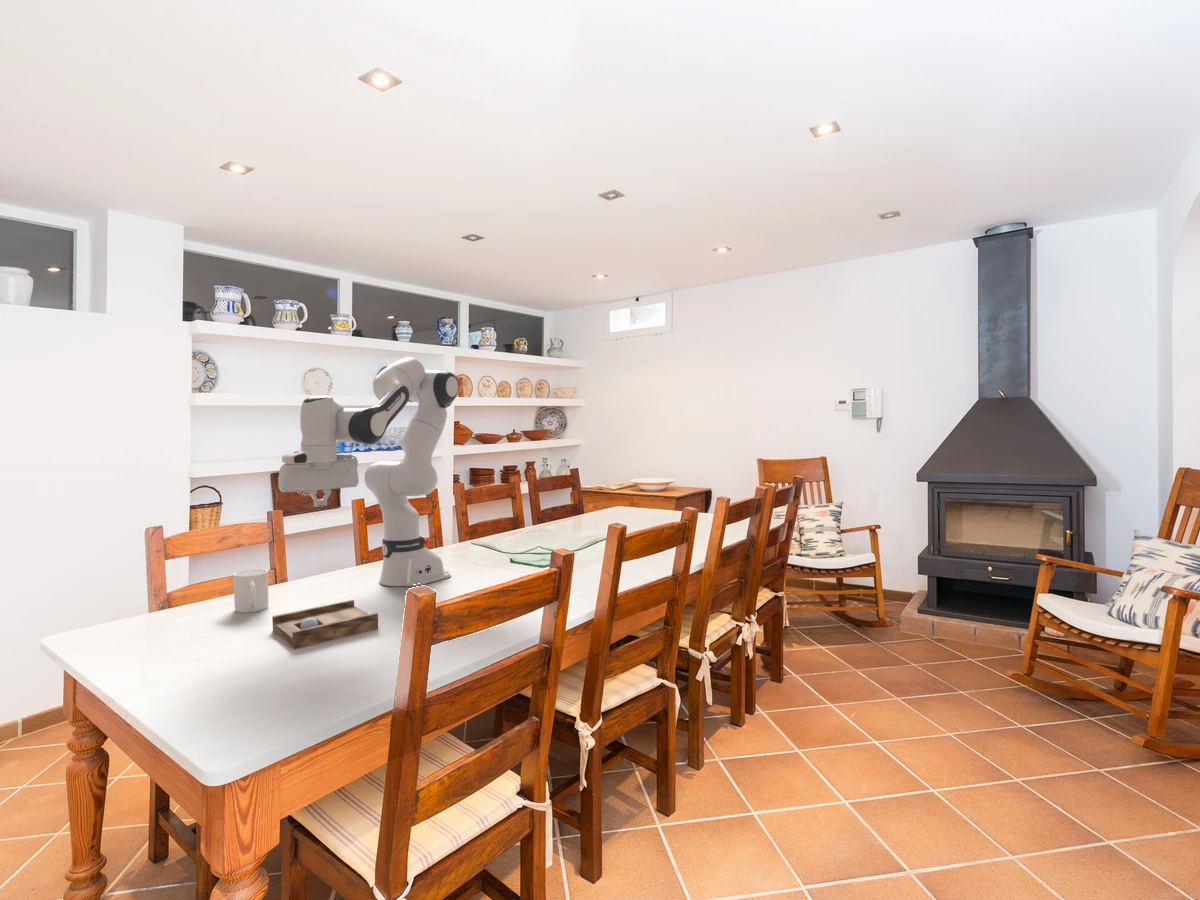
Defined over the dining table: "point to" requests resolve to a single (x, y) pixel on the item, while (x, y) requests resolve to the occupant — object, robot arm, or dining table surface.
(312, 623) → the ball
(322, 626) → the wooden tray
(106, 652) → the dining table surface
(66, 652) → the dining table surface
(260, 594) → the mug
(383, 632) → the dining table surface
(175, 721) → the dining table surface
